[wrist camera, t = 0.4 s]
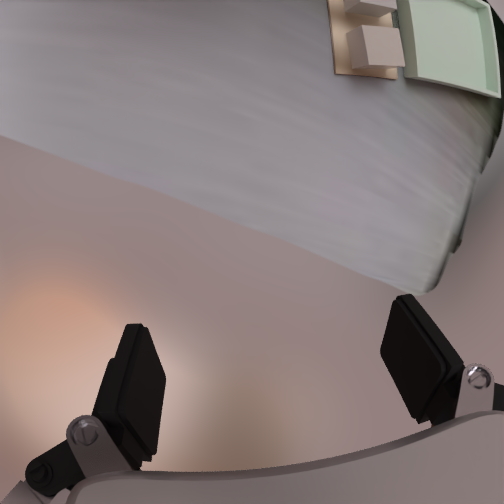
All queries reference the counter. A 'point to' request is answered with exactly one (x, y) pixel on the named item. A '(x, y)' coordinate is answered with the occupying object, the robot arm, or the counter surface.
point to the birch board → (339, 27)
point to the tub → (450, 44)
